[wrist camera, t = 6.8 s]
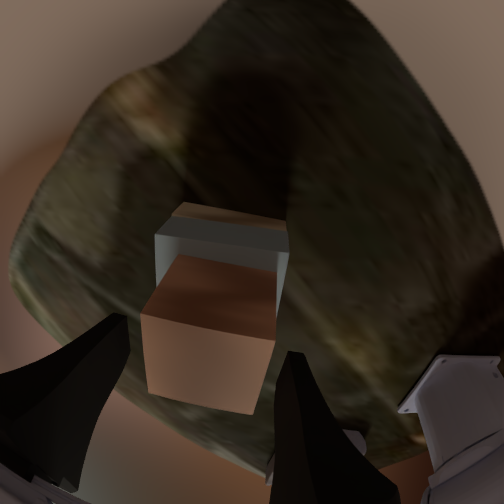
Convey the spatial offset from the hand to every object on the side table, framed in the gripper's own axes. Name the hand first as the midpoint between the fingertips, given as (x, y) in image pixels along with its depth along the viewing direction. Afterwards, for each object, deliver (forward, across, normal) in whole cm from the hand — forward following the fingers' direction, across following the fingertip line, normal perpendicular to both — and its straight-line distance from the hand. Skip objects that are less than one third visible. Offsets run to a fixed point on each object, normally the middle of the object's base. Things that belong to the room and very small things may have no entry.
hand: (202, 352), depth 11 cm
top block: (+6, 0, 0) cm, 6 cm away
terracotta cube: (+3, 0, 0) cm, 3 cm away
